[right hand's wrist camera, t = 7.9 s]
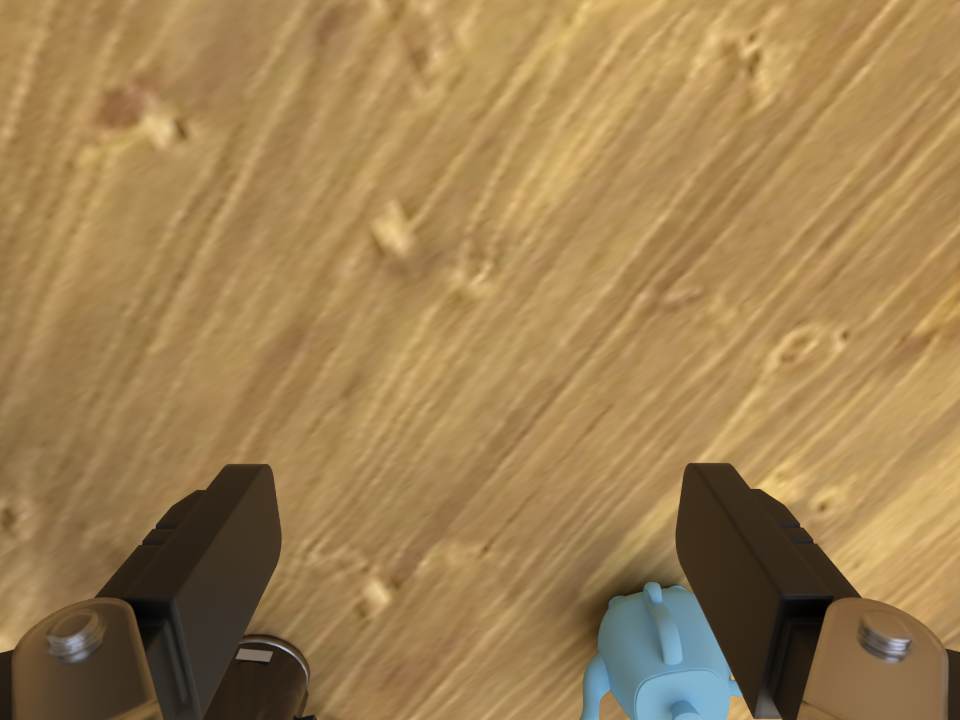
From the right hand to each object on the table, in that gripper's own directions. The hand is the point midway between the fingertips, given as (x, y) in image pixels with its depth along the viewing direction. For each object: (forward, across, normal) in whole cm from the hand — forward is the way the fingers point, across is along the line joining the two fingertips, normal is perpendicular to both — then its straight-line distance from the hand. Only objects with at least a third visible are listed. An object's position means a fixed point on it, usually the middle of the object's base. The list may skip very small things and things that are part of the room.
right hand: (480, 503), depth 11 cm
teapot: (+35, +16, -37) cm, 54 cm away
